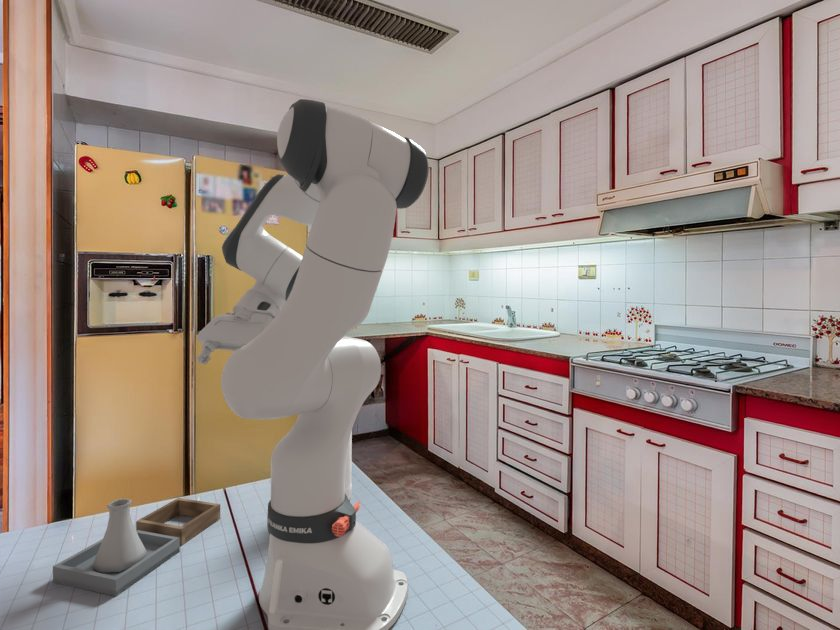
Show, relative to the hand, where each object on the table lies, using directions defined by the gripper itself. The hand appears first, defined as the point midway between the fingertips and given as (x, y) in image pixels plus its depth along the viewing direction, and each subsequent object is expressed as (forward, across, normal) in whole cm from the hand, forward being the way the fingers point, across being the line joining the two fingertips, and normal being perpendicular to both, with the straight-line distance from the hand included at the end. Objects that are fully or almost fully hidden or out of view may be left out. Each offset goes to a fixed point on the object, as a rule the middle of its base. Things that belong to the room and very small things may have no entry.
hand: (215, 364), depth 91 cm
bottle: (+9, +15, +36) cm, 40 cm away
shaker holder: (+27, -2, +18) cm, 32 cm away
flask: (+35, +1, +8) cm, 36 cm away
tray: (+35, +1, +9) cm, 37 cm away
